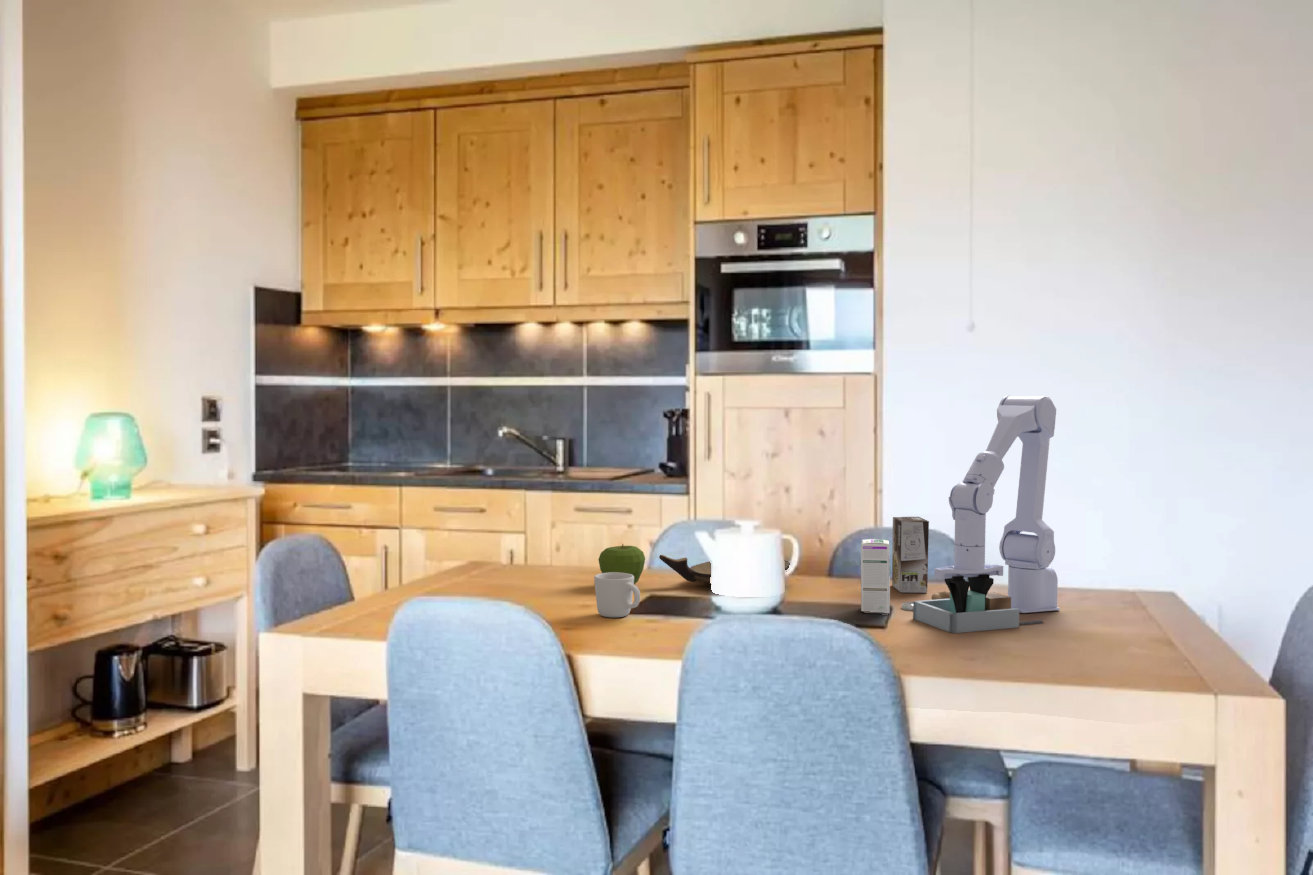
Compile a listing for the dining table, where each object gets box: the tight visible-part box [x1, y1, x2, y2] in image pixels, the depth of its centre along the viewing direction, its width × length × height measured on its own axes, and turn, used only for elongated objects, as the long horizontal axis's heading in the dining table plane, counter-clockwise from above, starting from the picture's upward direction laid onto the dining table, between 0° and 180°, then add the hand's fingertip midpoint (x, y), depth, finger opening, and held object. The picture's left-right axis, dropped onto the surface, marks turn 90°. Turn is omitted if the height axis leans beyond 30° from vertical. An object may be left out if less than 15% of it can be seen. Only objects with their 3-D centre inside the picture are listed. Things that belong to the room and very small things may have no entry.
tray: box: [912, 598, 1020, 634], centre depth 207 cm, size 15×13×4 cm
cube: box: [985, 591, 1011, 611], centre depth 209 cm, size 5×5×5 cm
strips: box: [1019, 619, 1044, 626], centre depth 211 cm, size 6×10×1 cm, turn 20°
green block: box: [950, 589, 985, 613], centre depth 208 cm, size 3×7×6 cm, turn 20°
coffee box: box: [891, 516, 930, 594], centre depth 241 cm, size 9×6×16 cm
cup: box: [593, 572, 641, 619], centre depth 211 cm, size 11×8×8 cm
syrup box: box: [860, 538, 891, 614], centre depth 217 cm, size 6×6×14 cm
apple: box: [597, 543, 646, 585], centre depth 242 cm, size 11×10×10 cm
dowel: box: [930, 591, 950, 600], centre depth 228 cm, size 12×2×2 cm, turn 110°
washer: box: [901, 601, 913, 612], centre depth 221 cm, size 4×4×1 cm
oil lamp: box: [658, 554, 791, 585], centre depth 246 cm, size 22×30×8 cm
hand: (968, 614), depth 207 cm, fingers closed on green block, 3 cm apart
